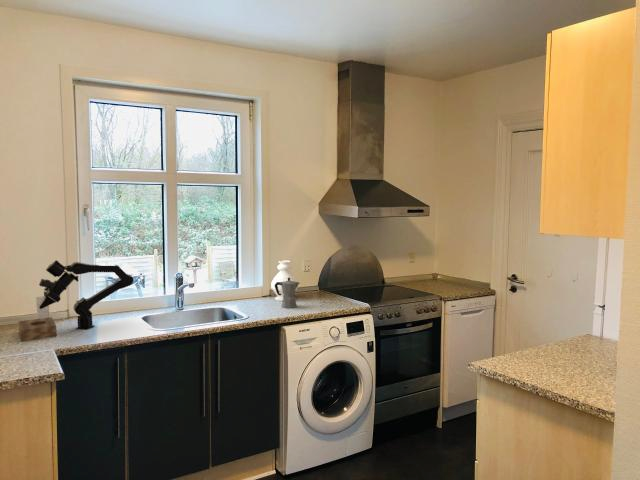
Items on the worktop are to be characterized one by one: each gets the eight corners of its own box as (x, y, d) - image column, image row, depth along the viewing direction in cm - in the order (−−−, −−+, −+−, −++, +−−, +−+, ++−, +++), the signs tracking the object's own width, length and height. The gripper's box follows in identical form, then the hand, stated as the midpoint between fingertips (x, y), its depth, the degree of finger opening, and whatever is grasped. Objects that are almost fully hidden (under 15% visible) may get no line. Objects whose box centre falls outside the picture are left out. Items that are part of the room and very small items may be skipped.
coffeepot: (298, 304, 312) (298, 276, 311) (301, 307, 303) (300, 278, 301) (273, 305, 309) (273, 277, 307) (275, 309, 300) (275, 279, 298)
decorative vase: (274, 295, 340) (273, 259, 338) (300, 296, 339) (299, 259, 336) (268, 301, 323) (268, 262, 321) (296, 301, 321) (295, 263, 319)
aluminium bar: (48, 315, 252) (47, 295, 251) (49, 317, 248) (48, 297, 247) (37, 316, 249) (35, 297, 248) (37, 318, 245) (36, 298, 244)
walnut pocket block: (52, 327, 260) (52, 317, 259) (56, 336, 243) (56, 325, 243) (18, 331, 252) (18, 321, 251) (20, 341, 235) (20, 330, 235)
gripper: (47, 270, 256) (24, 294, 251) (51, 275, 241) (26, 300, 236) (65, 284, 261) (43, 307, 256) (70, 289, 246) (46, 314, 241)
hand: (39, 307), depth 247 cm, fingers closed on aluminium bar, 5 cm apart
